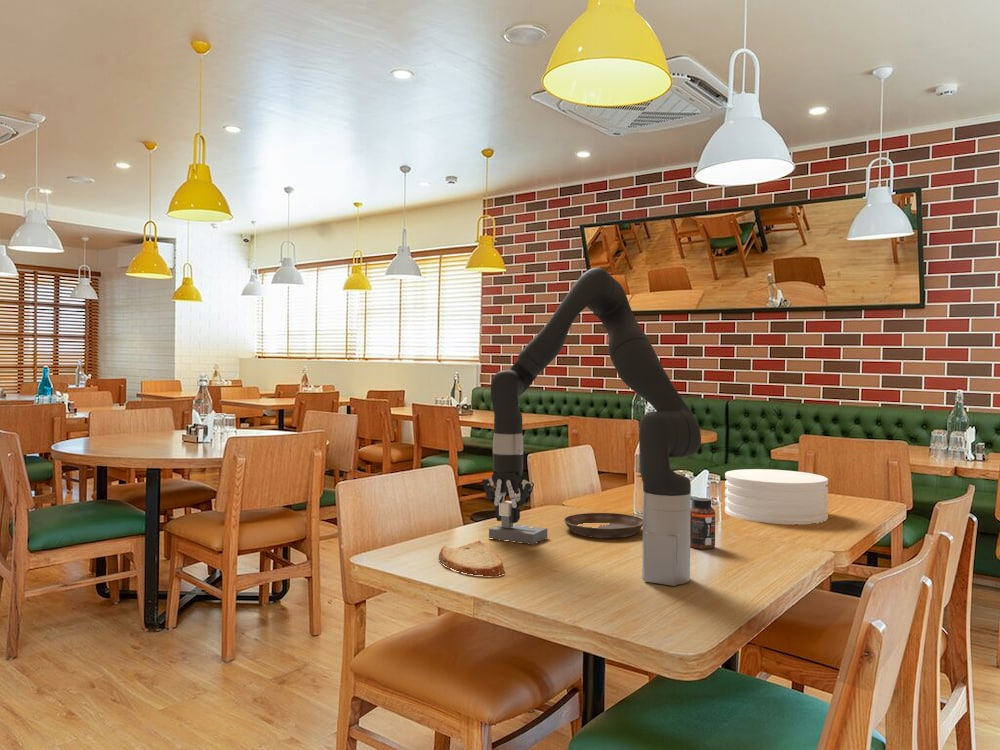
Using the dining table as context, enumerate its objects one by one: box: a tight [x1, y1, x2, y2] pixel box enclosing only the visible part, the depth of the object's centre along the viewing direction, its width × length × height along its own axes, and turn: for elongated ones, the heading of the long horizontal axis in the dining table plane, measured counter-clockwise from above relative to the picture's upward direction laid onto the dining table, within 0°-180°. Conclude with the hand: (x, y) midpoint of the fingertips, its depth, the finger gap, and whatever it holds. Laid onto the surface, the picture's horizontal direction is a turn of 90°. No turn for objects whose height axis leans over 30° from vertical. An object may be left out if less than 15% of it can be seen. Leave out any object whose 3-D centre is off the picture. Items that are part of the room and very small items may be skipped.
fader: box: [499, 500, 514, 528], centre depth 174 cm, size 4×3×6 cm, turn 151°
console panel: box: [488, 523, 548, 545], centre depth 173 cm, size 8×12×3 cm, turn 61°
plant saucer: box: [563, 512, 643, 539], centre depth 183 cm, size 21×21×3 cm
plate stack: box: [724, 468, 829, 525], centre depth 206 cm, size 28×28×12 cm
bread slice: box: [438, 540, 506, 576], centre depth 151 cm, size 18×18×4 cm
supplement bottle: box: [690, 497, 716, 550], centre depth 166 cm, size 6×6×11 cm
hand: (507, 521), depth 174 cm, fingers open, 3 cm apart
